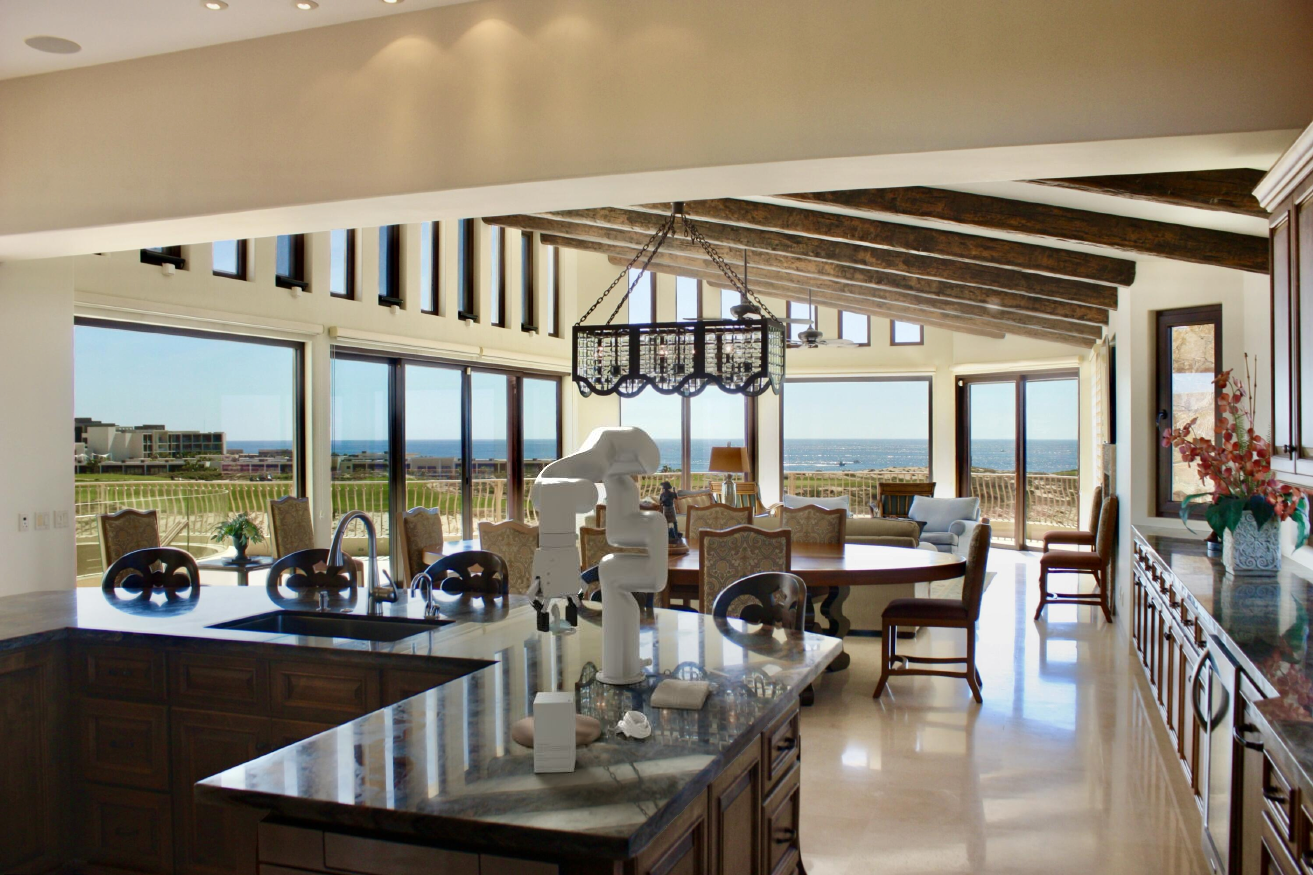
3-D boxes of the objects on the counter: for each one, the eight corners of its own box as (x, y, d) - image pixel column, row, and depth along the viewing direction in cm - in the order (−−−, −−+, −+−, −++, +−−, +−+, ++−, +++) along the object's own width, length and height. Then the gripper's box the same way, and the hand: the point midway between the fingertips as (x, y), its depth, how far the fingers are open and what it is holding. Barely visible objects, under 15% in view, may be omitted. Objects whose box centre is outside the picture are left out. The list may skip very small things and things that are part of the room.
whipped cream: (635, 730, 185) (634, 706, 185) (660, 734, 180) (659, 709, 181) (609, 737, 178) (609, 712, 179) (634, 741, 174) (634, 715, 175)
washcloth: (711, 690, 213) (711, 677, 213) (702, 712, 196) (702, 698, 196) (662, 688, 215) (662, 675, 215) (649, 709, 198) (649, 695, 198)
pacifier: (579, 631, 183) (550, 629, 184) (580, 601, 183) (551, 599, 184) (573, 638, 176) (543, 637, 176) (574, 607, 176) (544, 606, 176)
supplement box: (576, 758, 165) (576, 690, 165) (574, 772, 157) (574, 702, 158) (536, 758, 165) (537, 691, 165) (532, 773, 157) (532, 702, 157)
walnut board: (562, 714, 192) (562, 707, 192) (619, 733, 180) (619, 725, 180) (494, 733, 179) (494, 726, 179) (550, 754, 167) (550, 746, 167)
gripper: (577, 536, 189) (577, 619, 189) (511, 542, 176) (511, 632, 176) (601, 539, 184) (601, 624, 183) (535, 545, 171) (535, 637, 171)
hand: (557, 627), depth 180 cm, fingers closed on pacifier, 6 cm apart
